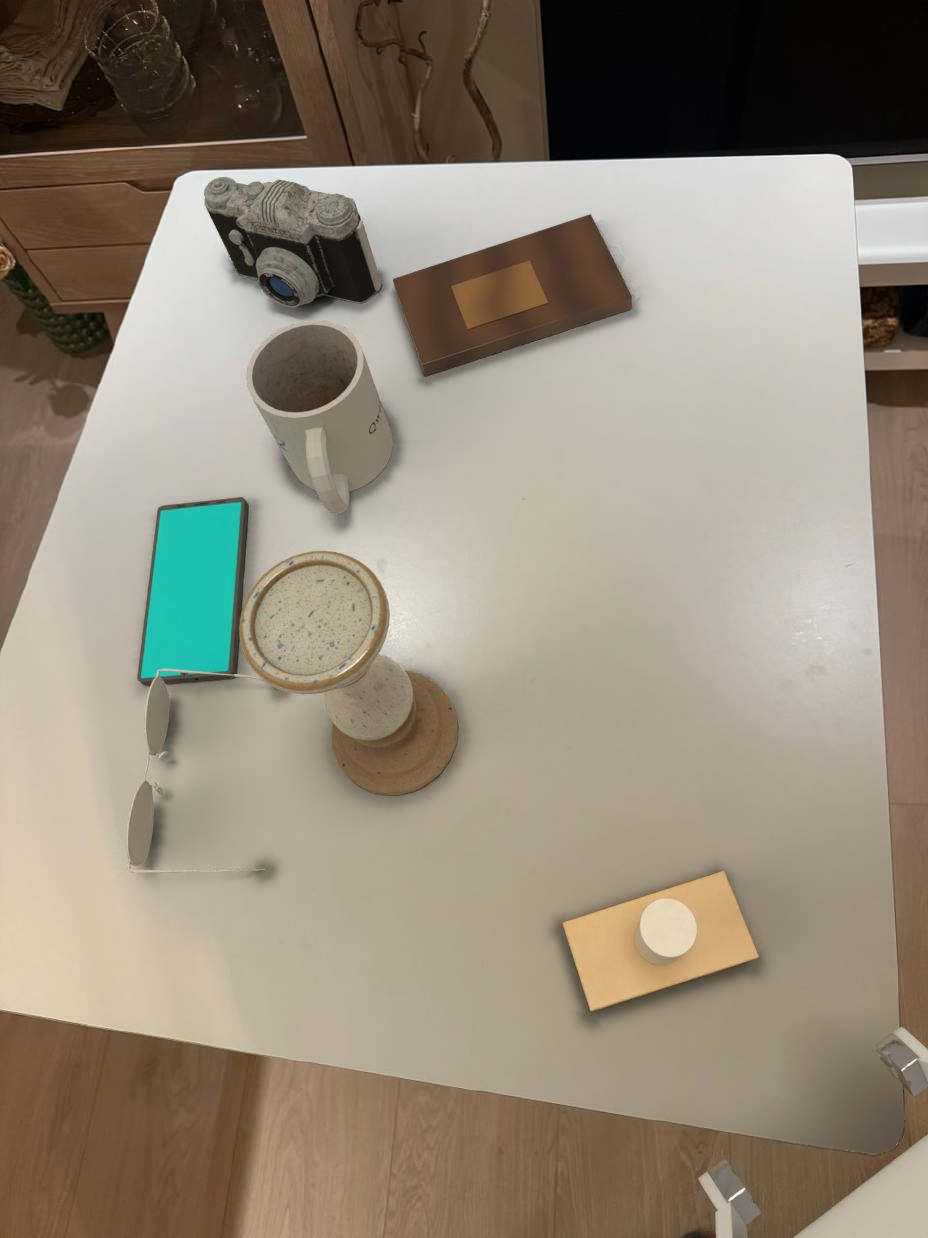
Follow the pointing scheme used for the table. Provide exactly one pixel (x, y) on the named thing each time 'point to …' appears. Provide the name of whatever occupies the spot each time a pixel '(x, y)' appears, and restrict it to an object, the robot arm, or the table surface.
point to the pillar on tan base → (659, 940)
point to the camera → (294, 240)
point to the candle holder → (348, 669)
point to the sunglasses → (143, 798)
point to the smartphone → (194, 591)
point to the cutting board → (511, 294)
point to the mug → (321, 408)
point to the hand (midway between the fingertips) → (804, 1109)
